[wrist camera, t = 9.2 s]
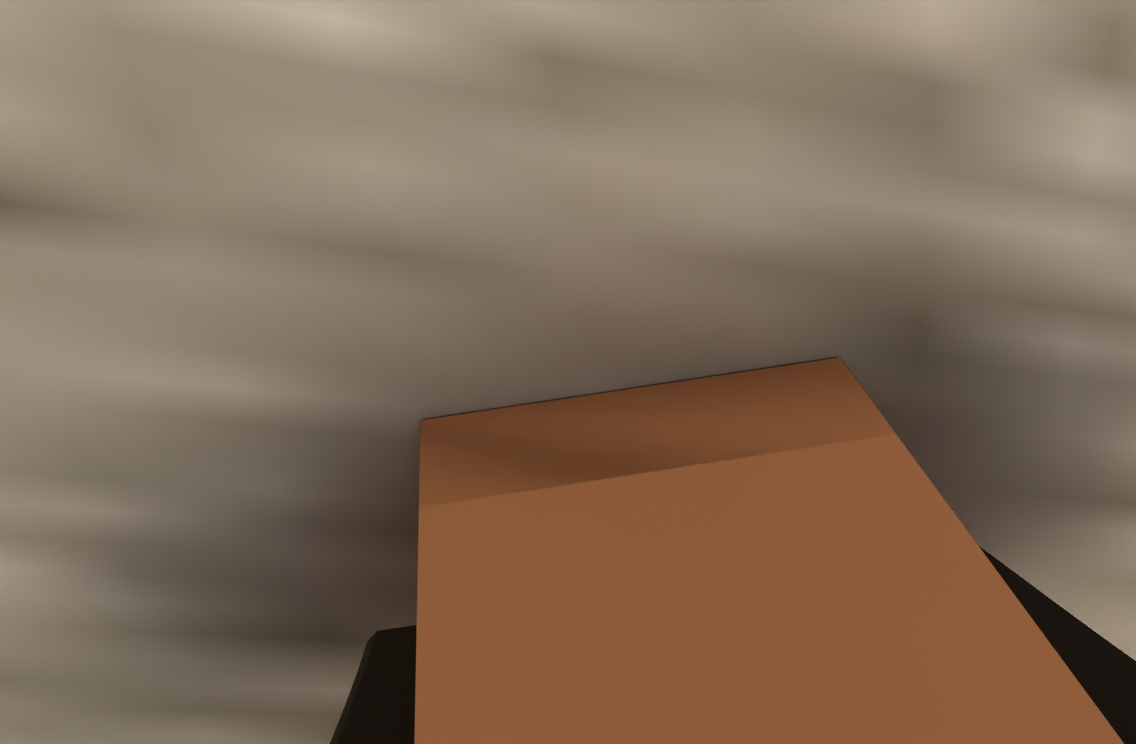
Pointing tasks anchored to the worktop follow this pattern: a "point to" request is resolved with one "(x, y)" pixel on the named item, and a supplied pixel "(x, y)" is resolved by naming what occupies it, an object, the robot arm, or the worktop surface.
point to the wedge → (715, 579)
